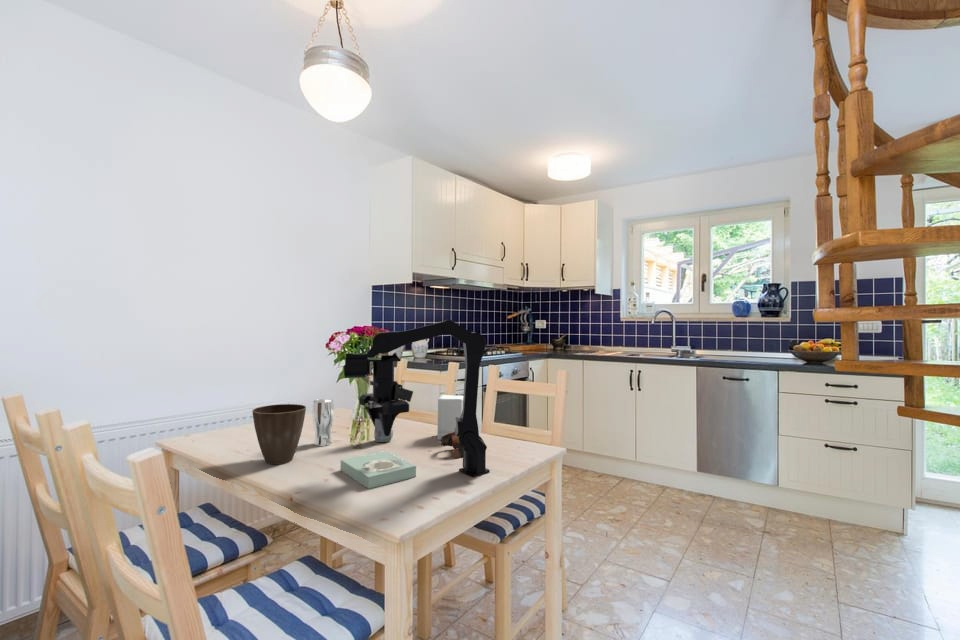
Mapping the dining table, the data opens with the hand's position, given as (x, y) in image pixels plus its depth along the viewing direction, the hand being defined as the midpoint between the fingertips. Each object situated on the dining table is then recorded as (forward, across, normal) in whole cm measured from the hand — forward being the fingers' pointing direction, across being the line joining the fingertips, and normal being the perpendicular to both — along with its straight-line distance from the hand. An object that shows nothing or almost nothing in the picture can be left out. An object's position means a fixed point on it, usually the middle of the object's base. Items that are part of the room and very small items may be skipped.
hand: (383, 434), depth 121 cm
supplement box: (+12, +21, -39) cm, 46 cm away
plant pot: (+12, +32, +18) cm, 39 cm away
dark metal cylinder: (+2, 0, 0) cm, 2 cm away
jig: (+12, +3, 0) cm, 12 cm away
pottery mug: (+12, +4, -29) cm, 32 cm away
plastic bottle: (+12, +32, -17) cm, 38 cm away
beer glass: (+12, +42, +2) cm, 43 cm away
